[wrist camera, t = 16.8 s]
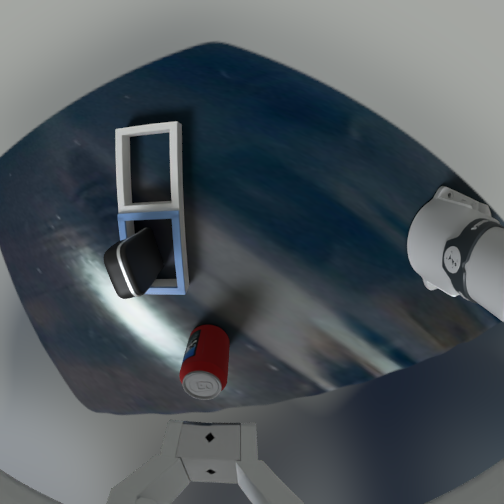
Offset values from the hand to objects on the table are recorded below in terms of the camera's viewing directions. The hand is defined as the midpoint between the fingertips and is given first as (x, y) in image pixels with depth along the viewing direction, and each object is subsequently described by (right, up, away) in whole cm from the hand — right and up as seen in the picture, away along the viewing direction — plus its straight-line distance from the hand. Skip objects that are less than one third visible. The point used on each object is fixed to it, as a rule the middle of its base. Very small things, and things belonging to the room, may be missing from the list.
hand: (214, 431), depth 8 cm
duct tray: (-13, +13, +31) cm, 36 cm away
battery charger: (-15, +7, +33) cm, 37 cm away
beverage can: (-6, -8, +38) cm, 39 cm away
